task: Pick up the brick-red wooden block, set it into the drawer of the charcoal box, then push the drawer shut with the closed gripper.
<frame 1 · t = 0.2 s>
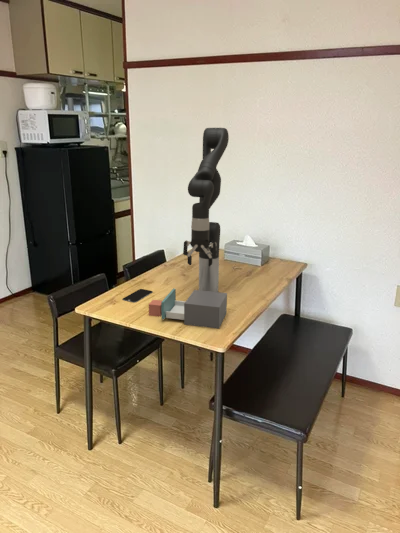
hand: (199, 265, 186), 17 cm above the table, tool pointing down, fingers open, 8 cm apart
smartphone: (137, 296, 198), on the table
drawer: (182, 304, 176), point 5 cm above the table, slide at 8.0 cm
housing: (206, 318, 176), on the table
block: (156, 313, 180), on the table
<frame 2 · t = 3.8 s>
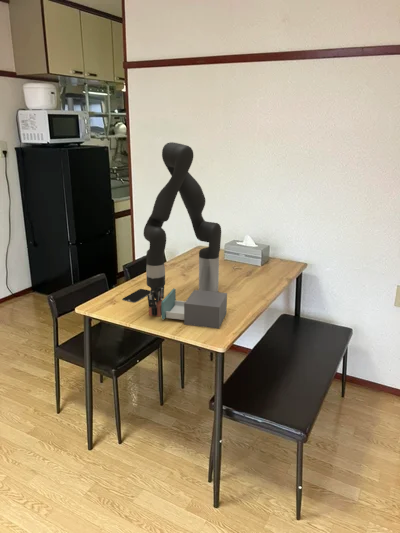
hand: (156, 312, 180), 0 cm above the table, tool pointing down, fingers closed on block, 5 cm apart
block: (156, 313, 180), on the table, touching gripper
everything else where it was.
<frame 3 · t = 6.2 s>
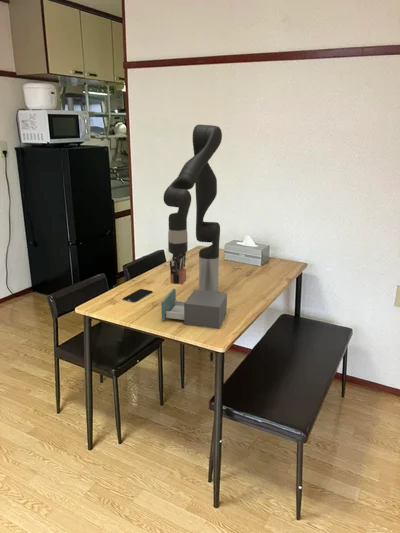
hand: (178, 280, 174), 15 cm above the table, tool pointing down, fingers closed on block, 5 cm apart
block: (178, 282, 174), point 15 cm above the table, touching gripper
everything else where it was.
when the fingers open (3 cm above the table, at t = 8.8 s): block stays where it is, resting on drawer.
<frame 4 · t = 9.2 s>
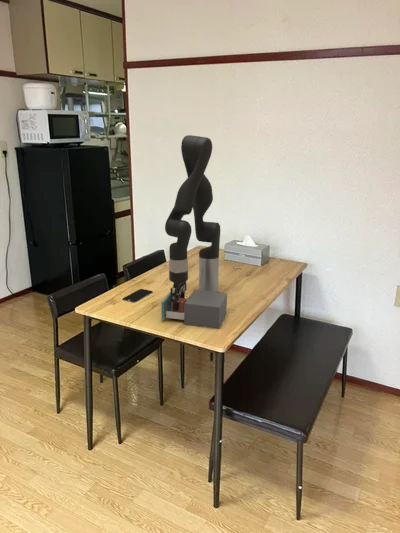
hand: (178, 306, 177), 4 cm above the table, tool pointing down, fingers open, 8 cm apart
drawer: (182, 304, 176), point 5 cm above the table, slide at 8.0 cm, touching block
block: (179, 311, 178), point 2 cm above the table, touching drawer
everything else where it was.
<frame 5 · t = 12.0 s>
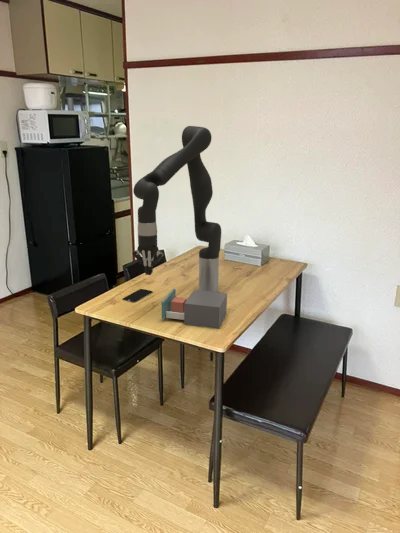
hand: (148, 274, 175), 17 cm above the table, tool pointing down, fingers closed
nothing on the table moved.
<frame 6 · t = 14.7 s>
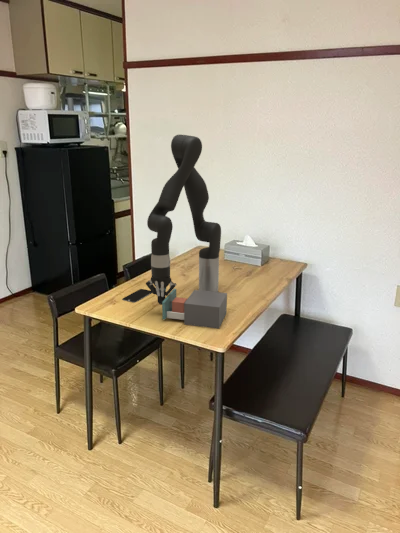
hand: (161, 303, 178), 4 cm above the table, tool pointing down, fingers closed
drawer: (183, 305, 176), point 5 cm above the table, slide at 7.7 cm, touching block, gripper
everything else where it was.
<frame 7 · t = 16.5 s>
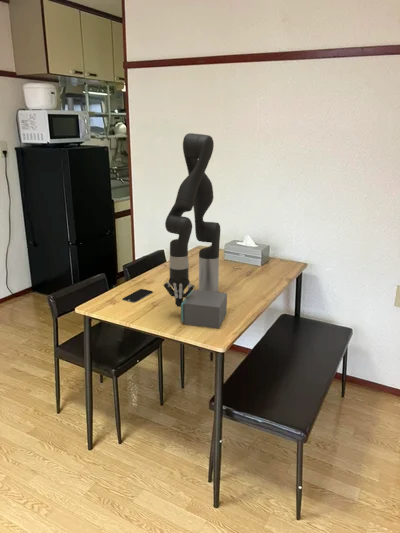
hand: (179, 305, 176), 4 cm above the table, tool pointing down, fingers closed
drawer: (201, 307, 174), point 5 cm above the table, slide at 0.0 cm, touching block, gripper
block: (197, 313, 176), point 2 cm above the table, touching drawer
everything else where it was.
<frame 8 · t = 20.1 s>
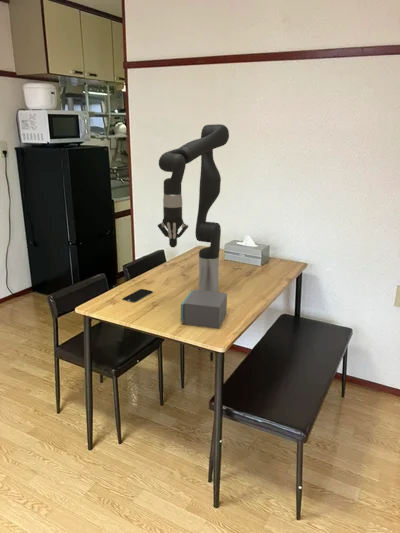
hand: (173, 246, 178), 27 cm above the table, tool pointing down, fingers closed
drawer: (201, 307, 174), point 5 cm above the table, slide at 0.0 cm, touching block
everything else where it was.
at the end: drawer slide at 0.0 cm; block inside the target area on the housing (3.2 cm from its centre), point 1.9 cm above the housing's base; the gripper is holding nothing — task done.
